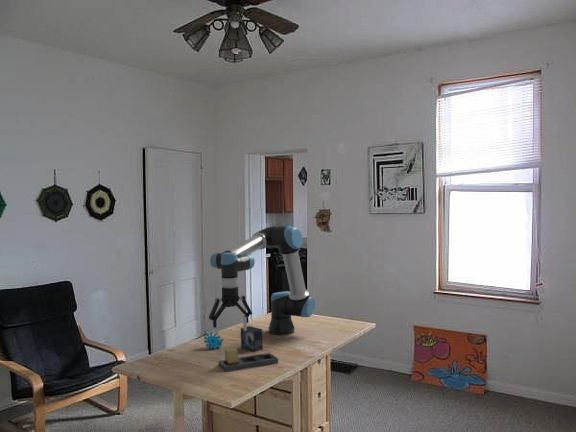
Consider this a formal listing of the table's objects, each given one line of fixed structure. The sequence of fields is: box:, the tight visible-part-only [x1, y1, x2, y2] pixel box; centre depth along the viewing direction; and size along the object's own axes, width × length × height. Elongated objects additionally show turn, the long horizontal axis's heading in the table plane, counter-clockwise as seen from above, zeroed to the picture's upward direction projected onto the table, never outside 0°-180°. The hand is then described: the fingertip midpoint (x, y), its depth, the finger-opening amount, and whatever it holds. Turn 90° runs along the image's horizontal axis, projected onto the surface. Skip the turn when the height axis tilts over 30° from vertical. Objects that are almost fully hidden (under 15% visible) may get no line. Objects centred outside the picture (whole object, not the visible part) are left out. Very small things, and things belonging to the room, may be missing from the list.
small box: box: [240, 325, 264, 352], centre depth 254 cm, size 11×6×10 cm, turn 47°
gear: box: [203, 331, 225, 351], centre depth 257 cm, size 11×6×10 cm
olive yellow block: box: [224, 347, 239, 366], centre depth 226 cm, size 4×4×8 cm
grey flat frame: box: [218, 352, 279, 373], centre depth 230 cm, size 26×10×2 cm, turn 115°
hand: (231, 332), depth 226 cm, fingers open, 13 cm apart
